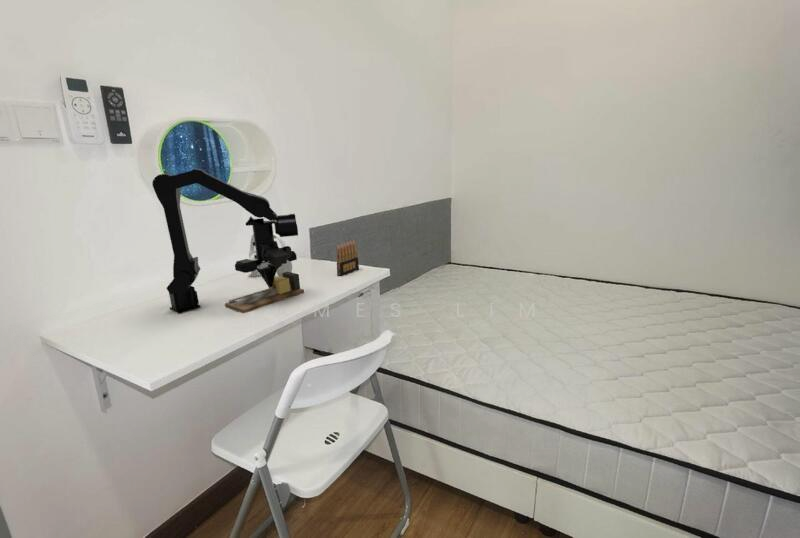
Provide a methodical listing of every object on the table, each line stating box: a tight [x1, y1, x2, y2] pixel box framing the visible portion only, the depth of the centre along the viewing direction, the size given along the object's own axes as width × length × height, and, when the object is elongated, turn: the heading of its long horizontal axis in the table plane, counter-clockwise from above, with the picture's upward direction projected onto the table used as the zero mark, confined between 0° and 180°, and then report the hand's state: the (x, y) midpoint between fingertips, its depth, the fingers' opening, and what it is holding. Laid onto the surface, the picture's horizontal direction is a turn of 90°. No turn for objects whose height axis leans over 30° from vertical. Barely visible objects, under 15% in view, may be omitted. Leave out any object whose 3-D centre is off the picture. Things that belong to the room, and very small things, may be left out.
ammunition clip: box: [336, 239, 360, 277], centre depth 156 cm, size 11×2×12 cm, turn 146°
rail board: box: [224, 272, 305, 314], centre depth 130 cm, size 22×10×6 cm, turn 141°
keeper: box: [268, 275, 290, 294], centre depth 134 cm, size 4×6×4 cm, turn 51°
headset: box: [247, 231, 293, 278], centre depth 152 cm, size 20×7×18 cm, turn 56°
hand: (270, 286), depth 131 cm, fingers closed
